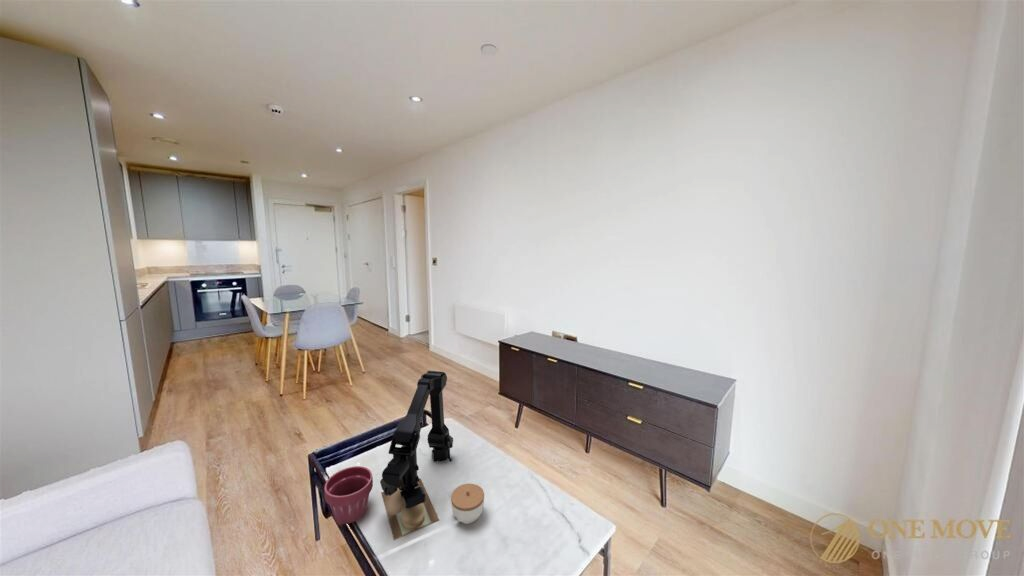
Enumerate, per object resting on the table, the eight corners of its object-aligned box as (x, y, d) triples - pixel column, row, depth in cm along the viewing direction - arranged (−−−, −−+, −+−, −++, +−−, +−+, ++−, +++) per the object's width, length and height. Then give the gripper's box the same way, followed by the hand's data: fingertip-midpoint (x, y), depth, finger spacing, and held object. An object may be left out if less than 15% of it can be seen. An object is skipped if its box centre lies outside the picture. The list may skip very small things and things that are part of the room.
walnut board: (420, 481, 126) (420, 478, 125) (439, 523, 107) (439, 520, 107) (381, 495, 118) (381, 492, 118) (394, 543, 100) (394, 540, 100)
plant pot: (383, 508, 113) (381, 474, 111) (346, 541, 100) (343, 503, 99) (355, 493, 119) (353, 460, 118) (317, 522, 107) (314, 486, 105)
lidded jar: (489, 508, 113) (489, 483, 112) (475, 534, 103) (475, 507, 102) (461, 500, 116) (460, 475, 115) (445, 524, 106) (444, 498, 105)
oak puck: (421, 508, 111) (421, 497, 111) (426, 524, 105) (426, 512, 105) (400, 516, 108) (399, 505, 108) (403, 533, 102) (403, 521, 101)
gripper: (376, 455, 113) (379, 496, 115) (387, 490, 97) (390, 538, 99) (410, 445, 118) (411, 484, 121) (425, 477, 102) (427, 522, 105)
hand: (409, 505), depth 111 cm, fingers closed
